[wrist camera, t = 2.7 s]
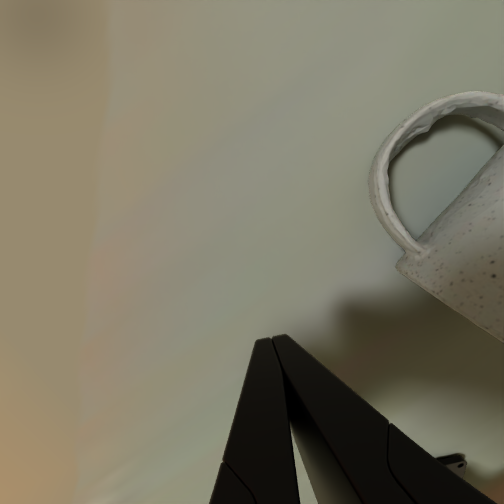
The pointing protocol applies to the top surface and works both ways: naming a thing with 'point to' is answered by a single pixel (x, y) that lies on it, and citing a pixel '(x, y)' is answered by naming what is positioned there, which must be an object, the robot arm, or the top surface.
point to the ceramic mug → (453, 220)
